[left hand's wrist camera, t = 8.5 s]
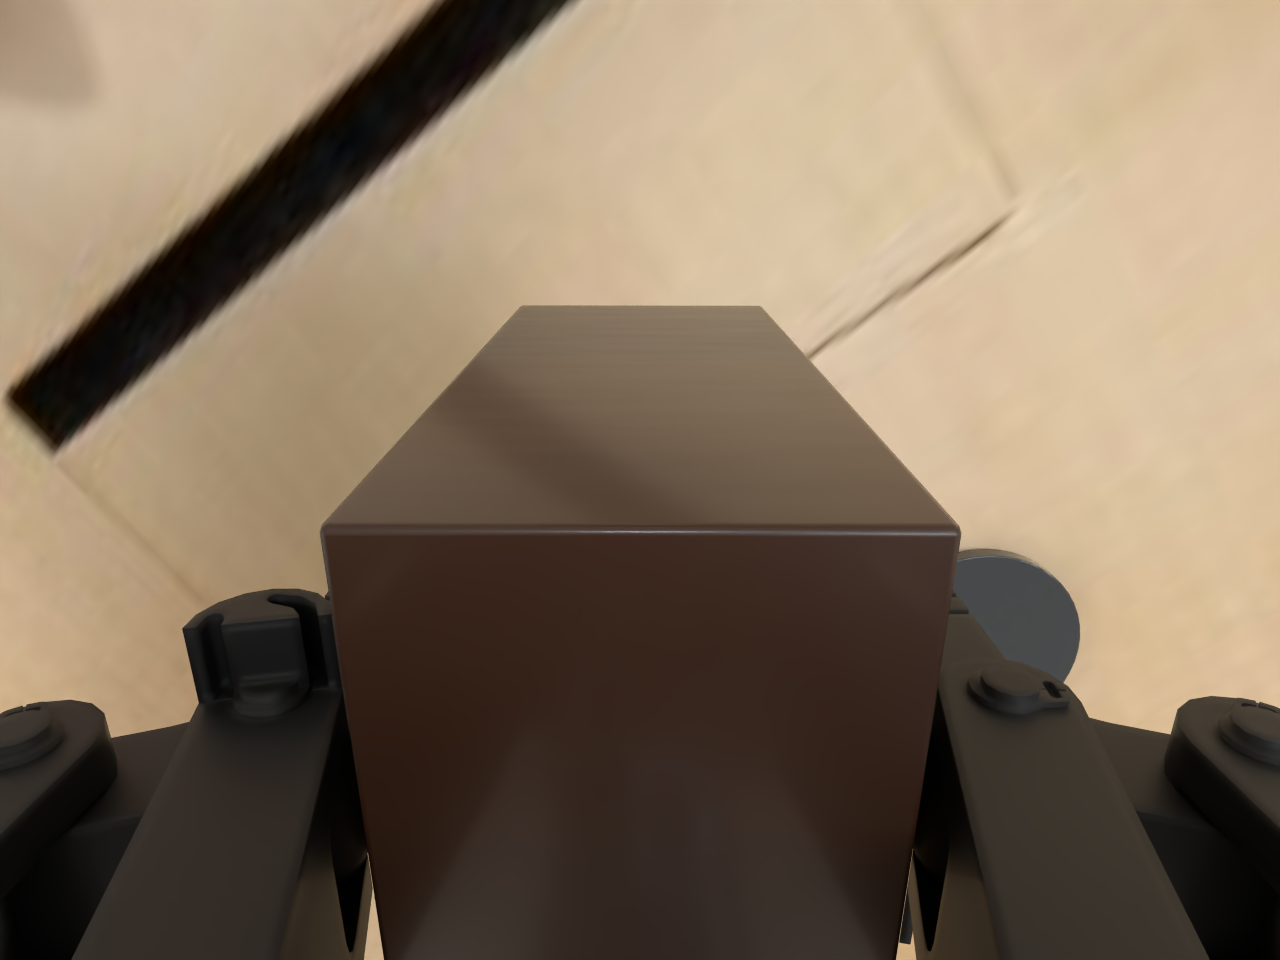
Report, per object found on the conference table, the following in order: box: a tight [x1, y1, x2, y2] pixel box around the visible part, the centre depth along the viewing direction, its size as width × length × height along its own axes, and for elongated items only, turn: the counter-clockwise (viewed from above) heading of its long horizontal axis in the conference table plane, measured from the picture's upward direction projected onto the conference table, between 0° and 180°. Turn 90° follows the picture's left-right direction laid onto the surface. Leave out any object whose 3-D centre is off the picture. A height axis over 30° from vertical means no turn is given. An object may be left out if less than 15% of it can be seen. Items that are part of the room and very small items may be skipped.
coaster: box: [953, 549, 1080, 683], centre depth 32 cm, size 8×8×1 cm
